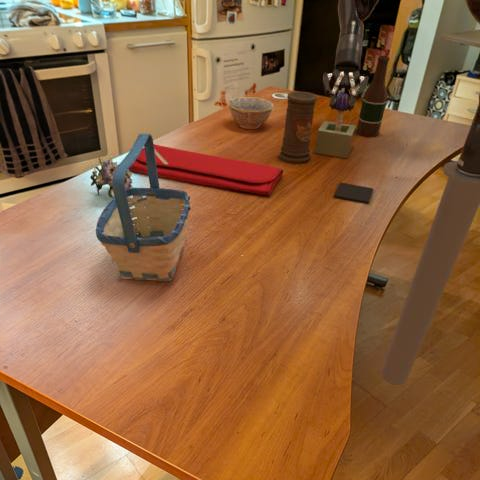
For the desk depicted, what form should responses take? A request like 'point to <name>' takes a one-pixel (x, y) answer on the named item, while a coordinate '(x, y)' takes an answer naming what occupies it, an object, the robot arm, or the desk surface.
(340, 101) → the toy lamp
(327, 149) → the holder
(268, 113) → the bowl
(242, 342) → the desk surface
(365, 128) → the beer bottle
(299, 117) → the container
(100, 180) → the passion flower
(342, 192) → the mat
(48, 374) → the desk surface
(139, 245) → the basket
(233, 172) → the dish drying mat
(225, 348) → the desk surface
